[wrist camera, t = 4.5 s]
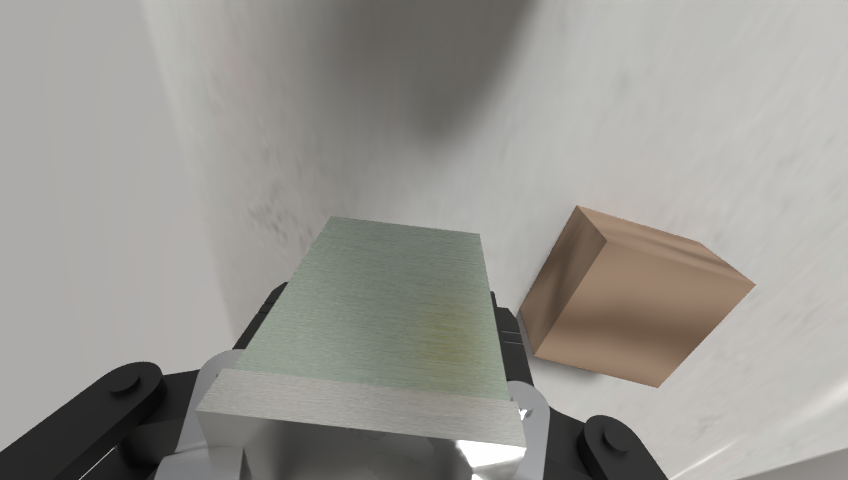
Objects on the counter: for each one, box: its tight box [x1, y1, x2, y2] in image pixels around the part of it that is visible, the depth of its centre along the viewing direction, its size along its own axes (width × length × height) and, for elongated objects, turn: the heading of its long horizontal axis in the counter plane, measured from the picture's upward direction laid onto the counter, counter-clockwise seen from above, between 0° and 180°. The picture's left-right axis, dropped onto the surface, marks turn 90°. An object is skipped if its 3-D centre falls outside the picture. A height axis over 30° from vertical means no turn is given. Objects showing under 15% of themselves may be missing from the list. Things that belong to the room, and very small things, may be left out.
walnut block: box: [520, 205, 756, 388], centre depth 23 cm, size 9×9×5 cm
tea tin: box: [195, 216, 527, 480], centre depth 10 cm, size 5×5×7 cm
